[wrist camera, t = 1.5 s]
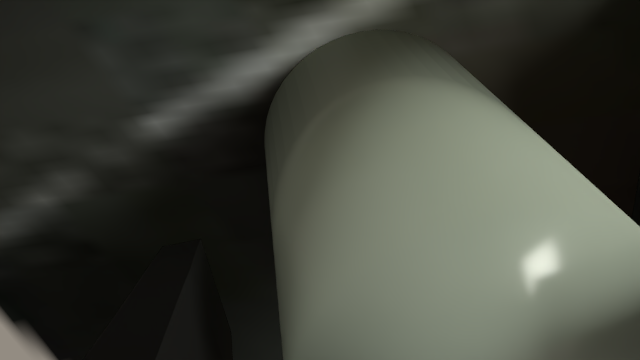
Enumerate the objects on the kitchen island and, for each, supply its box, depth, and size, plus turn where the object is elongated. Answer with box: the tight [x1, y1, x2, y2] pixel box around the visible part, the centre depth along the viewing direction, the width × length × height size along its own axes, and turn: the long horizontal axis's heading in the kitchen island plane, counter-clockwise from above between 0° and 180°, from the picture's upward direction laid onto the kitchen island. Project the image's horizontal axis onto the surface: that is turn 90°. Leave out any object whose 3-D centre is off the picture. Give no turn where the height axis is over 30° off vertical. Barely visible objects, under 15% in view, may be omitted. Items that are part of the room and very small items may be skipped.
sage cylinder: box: [264, 30, 640, 360], centre depth 10 cm, size 5×5×7 cm
